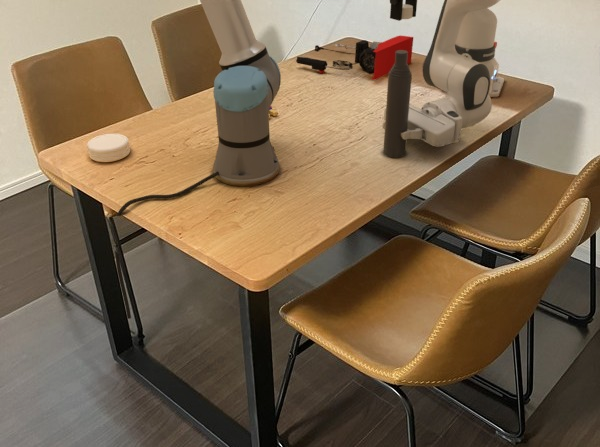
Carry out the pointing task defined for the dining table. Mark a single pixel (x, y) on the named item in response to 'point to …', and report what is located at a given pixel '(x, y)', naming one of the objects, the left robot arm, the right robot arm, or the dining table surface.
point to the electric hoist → (367, 56)
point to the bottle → (397, 106)
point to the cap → (407, 11)
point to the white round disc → (108, 147)
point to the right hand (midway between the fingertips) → (393, 130)
